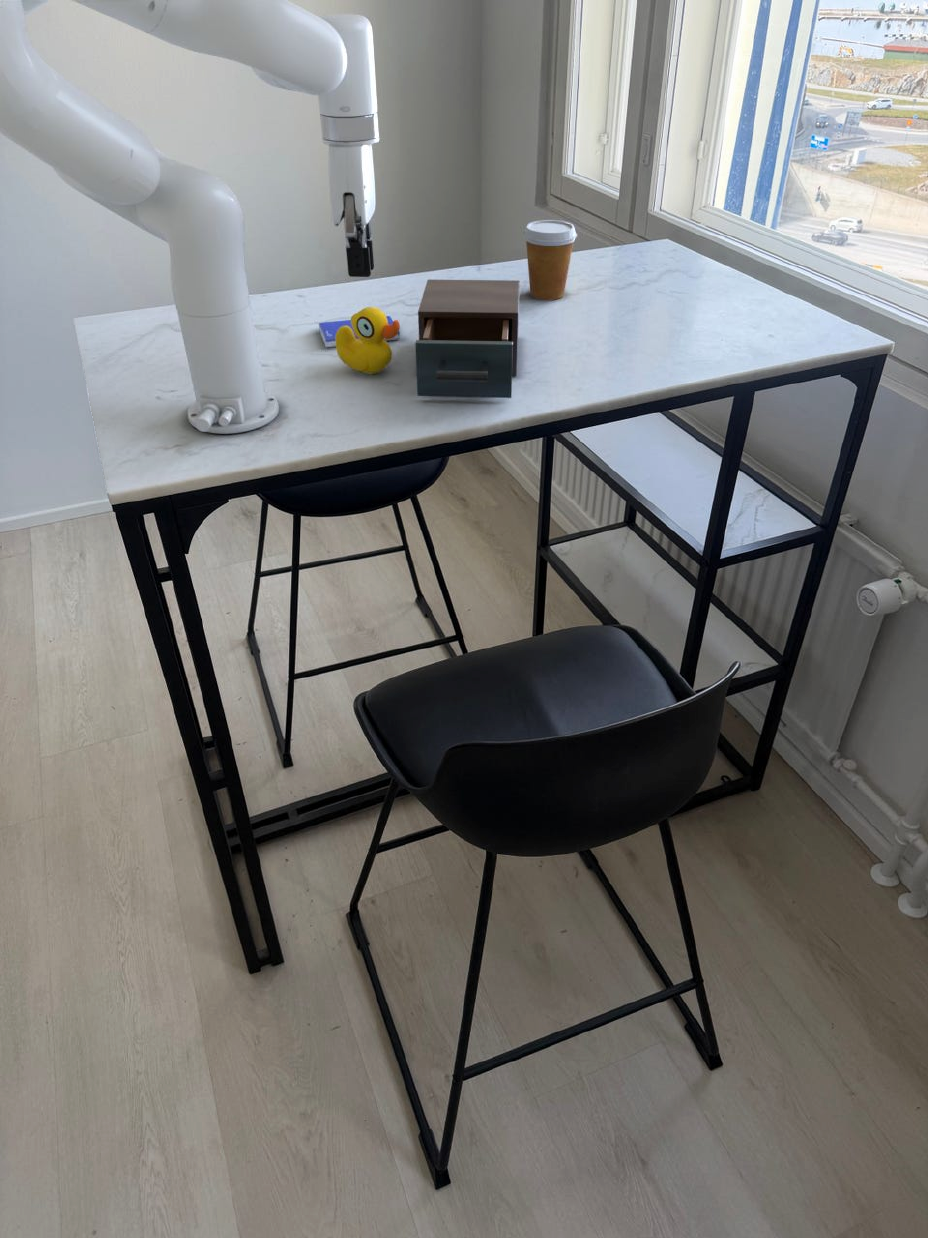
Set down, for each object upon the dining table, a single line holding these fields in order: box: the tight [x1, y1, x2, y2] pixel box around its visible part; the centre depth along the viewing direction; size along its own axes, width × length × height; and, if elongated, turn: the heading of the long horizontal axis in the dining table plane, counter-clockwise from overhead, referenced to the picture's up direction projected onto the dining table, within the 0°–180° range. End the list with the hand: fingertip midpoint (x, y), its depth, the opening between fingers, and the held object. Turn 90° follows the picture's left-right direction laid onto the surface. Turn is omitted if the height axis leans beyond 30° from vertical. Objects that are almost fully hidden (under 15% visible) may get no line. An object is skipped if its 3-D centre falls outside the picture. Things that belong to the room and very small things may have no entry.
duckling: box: [335, 306, 401, 375], centre depth 132 cm, size 11×5×10 cm, turn 62°
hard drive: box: [318, 315, 401, 348], centre depth 146 cm, size 2×8×12 cm
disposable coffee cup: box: [523, 219, 578, 301], centre depth 158 cm, size 10×10×12 cm
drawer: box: [414, 318, 513, 399], centre depth 126 cm, size 19×14×8 cm
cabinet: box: [417, 279, 521, 378], centre depth 136 cm, size 15×15×10 cm
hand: (361, 271), depth 125 cm, fingers closed
